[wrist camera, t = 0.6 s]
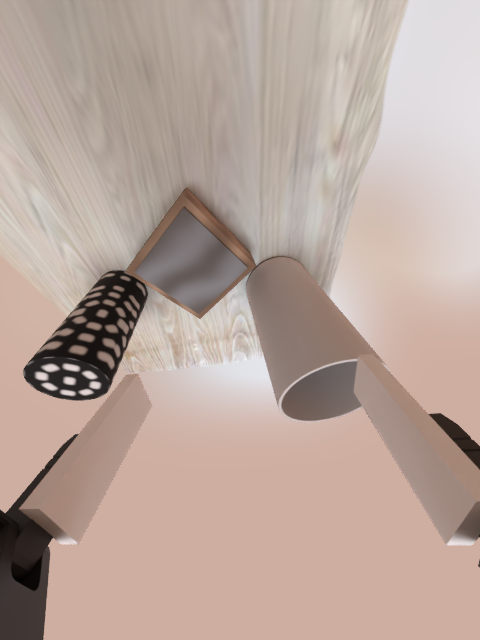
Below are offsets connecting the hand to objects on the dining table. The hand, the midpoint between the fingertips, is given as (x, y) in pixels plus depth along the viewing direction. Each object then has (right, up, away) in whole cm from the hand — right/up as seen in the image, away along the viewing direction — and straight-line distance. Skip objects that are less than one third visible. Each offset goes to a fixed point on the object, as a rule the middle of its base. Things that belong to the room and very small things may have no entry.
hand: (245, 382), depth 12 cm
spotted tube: (-22, +9, +27) cm, 36 cm away
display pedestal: (-8, +15, +24) cm, 29 cm away
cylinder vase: (+7, +11, +30) cm, 33 cm away
